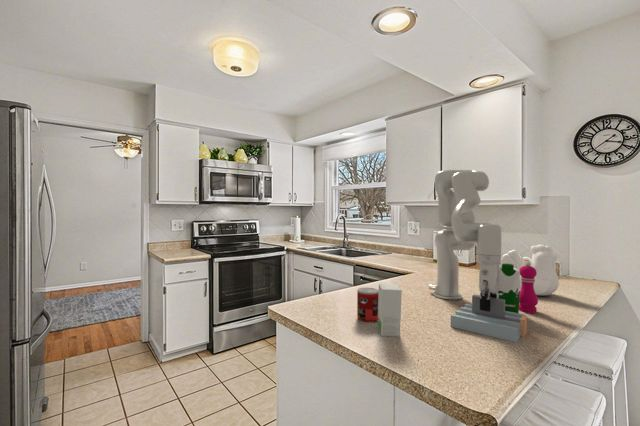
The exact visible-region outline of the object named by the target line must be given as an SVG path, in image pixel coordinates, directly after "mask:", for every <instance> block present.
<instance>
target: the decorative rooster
mask: <svg viewBox="0 0 640 426" xmlns="http://www.w3.org/2000/svg"><path fill="white" fill-rule="evenodd" d="M553 251H554V250H553V247H552V246H550V245H546V244H537V245H532V246H530V252H531V253H532V257H528V256H523V257H522V256H521V254H520V253H519V251H518V250H517V249H512V250H508V252H507V253H504V254H503V255H501V265H499V267H502V264H513V265H514V268H515V269H517V270H519V269H520V268H521V267H522V266H526V265H525V263H526V262H525V261H529V263H530V266H531V267H533V268H535V269H536V272H537V274H536V276H535V277H534V278H535V282H534V291H535V294H536V296H549V295H551V294H553V293H555V292H556V291H557V290H558V288H559V283H560V282H559V275H558V274H557V271H556V270H557V265H556V264H557V261H556V260H558V259H559V255H557V254H554V252H553ZM520 277H521V275H520ZM521 287H522V281H521V278H520V290H521Z"/></svg>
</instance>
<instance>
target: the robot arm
mask: <svg viewBox="0 0 640 426" xmlns="http://www.w3.org/2000/svg"><path fill="white" fill-rule="evenodd" d="M489 185H490V180H489V177H488V175H487V174H486V172H484V171H481V170H473V169H447V170H446V169H445V170H444V169H443V170H440V171H438V172H437V173H436V175H435V176H434V187H435V192H436V194H437V198H438V199H437V201H438V203H437V204H438V205H437V210H438V211H437V212H438V213H437V214H438V216H437V217H438V223H439V225H440V226H441V227H444V228H452V229H443V230H440V231H438V232H436V234H435V236H434V240H435V247H436V269H437V270H436V285H433V284H429V285H428V289H429V290H432V291H433V296H434V297H435V298H439V299H444V300H449V301H450V300H454V301H455V300H461V299H462V298H463V294H461V293H460V292H459V279H460V278H459V271H460V270H459V269H460V268H459V267H460V263H459V261H460V260H459V258H458V256H457V255H456V253H455V252H454V251H470V250H472V249H473V248H475V243H476V245H477V248H476V264H479V271H478V273H479V275H478V290H479V292H480V293H479V295H480V310H483V311H488V312H490V300H489V299H490V297H492V298H497V294H496V293H497V291H498V290H499V289H500V274H499V265H501V258H502V227H501V226H500V225H499V224H492V223H489V222H476V218H475V216H476V215H475V213H474V211H473V210H474V209H476V208H477V207H478V206H479V205H480V204H481V197H480V195H479V192H485V191H486V190H487V189H488V188H489Z"/></svg>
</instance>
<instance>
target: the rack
mask: <svg viewBox="0 0 640 426" xmlns="http://www.w3.org/2000/svg"><path fill="white" fill-rule="evenodd" d="M450 327H451V328H455V329H458V330H459V329H460V330H463V331H468V332H471V333H476V334H481V335H485V336H489V337H492V338H498V339H502V340H506V341H511V342H513V343H514V342H515V343H518V340H520V337H522V338H525V337H526V335H527V333H528V315H526V314H524V313H520V312H519V313H514V312H509V311H505V320H502V319H497V318H492V317H487V316H483V315H478V314H473V313H472V303H471V304H470V303H465V304H464V306H461V307H460V310H456V311H455V314H453V313H452V314H450Z"/></svg>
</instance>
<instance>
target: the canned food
mask: <svg viewBox="0 0 640 426" xmlns="http://www.w3.org/2000/svg"><path fill="white" fill-rule="evenodd" d="M378 293H379V289H378V288H375V287H360V288H357V298H356V299H357V300H356V301H357V302H356V305H357V307H356V308H357V311H356V312H357V314H356V315H357V316H356V317H357V320H358V321H361V322H364V323H376V322H378Z"/></svg>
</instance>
